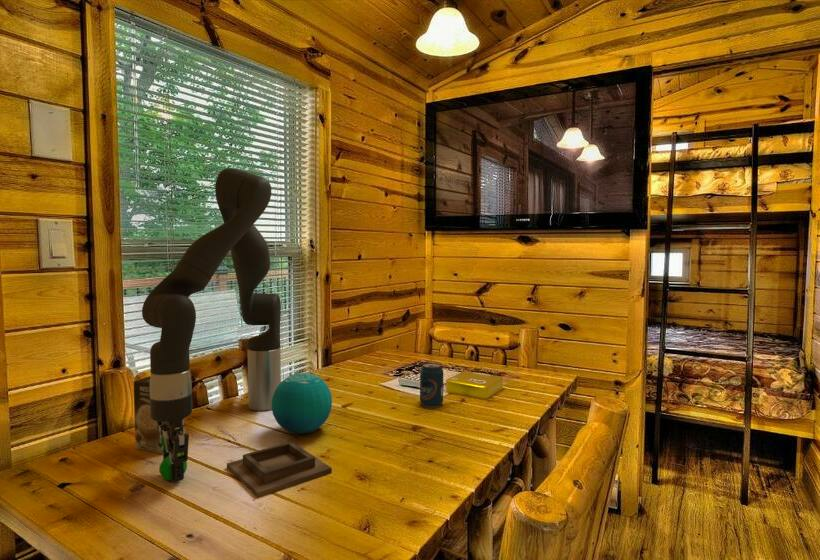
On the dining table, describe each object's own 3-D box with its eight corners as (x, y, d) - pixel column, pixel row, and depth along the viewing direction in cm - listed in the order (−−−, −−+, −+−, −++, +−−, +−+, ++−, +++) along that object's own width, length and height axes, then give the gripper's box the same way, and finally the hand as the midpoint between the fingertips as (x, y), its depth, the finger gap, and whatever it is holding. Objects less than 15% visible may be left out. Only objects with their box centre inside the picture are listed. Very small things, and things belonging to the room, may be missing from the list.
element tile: (504, 389, 163) (504, 375, 163) (486, 401, 150) (486, 385, 150) (463, 382, 171) (464, 369, 171) (443, 393, 158) (443, 378, 158)
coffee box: (133, 449, 113) (131, 380, 111) (156, 438, 119) (154, 374, 117) (164, 454, 110) (162, 384, 108) (186, 444, 116) (184, 377, 114)
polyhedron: (168, 487, 95) (168, 463, 95) (154, 480, 98) (153, 457, 97) (192, 477, 99) (191, 454, 99) (178, 470, 102) (177, 448, 101)
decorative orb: (259, 438, 119) (258, 378, 118) (294, 418, 133) (293, 364, 132) (312, 447, 114) (312, 384, 113) (342, 425, 128) (342, 369, 127)
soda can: (416, 406, 144) (416, 366, 143) (424, 399, 150) (424, 361, 149) (438, 409, 141) (439, 368, 140) (446, 402, 148) (446, 363, 147)
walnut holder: (226, 467, 103) (226, 454, 103) (295, 448, 114) (295, 435, 113) (257, 497, 91) (257, 482, 91) (331, 472, 101) (331, 458, 101)
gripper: (202, 397, 94) (204, 483, 95) (180, 381, 105) (182, 458, 106) (159, 405, 89) (162, 495, 90) (141, 388, 100) (144, 468, 101)
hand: (173, 475), depth 98 cm, fingers closed on polyhedron, 5 cm apart
